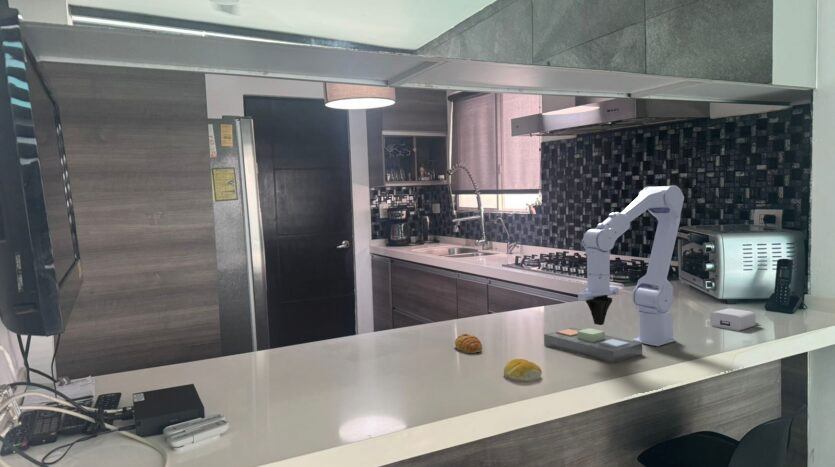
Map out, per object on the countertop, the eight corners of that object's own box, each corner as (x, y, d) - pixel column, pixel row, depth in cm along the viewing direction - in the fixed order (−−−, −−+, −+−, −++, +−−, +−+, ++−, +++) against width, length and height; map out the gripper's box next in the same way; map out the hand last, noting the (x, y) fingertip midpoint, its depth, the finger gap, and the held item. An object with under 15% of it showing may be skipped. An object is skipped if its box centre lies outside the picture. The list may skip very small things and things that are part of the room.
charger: (765, 324, 173) (740, 332, 165) (735, 319, 181) (710, 326, 173) (765, 309, 173) (740, 316, 165) (735, 305, 181) (710, 311, 173)
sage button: (589, 338, 155) (589, 328, 154) (604, 342, 150) (604, 331, 150) (577, 341, 152) (577, 331, 152) (592, 345, 148) (592, 334, 147)
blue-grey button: (612, 350, 148) (612, 339, 148) (628, 354, 144) (628, 342, 144) (600, 353, 146) (600, 342, 145) (616, 357, 142) (616, 346, 141)
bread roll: (526, 369, 137) (525, 353, 137) (547, 379, 129) (546, 362, 128) (496, 373, 134) (496, 357, 134) (516, 385, 126) (516, 367, 125)
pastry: (488, 353, 152) (488, 339, 151) (466, 356, 149) (465, 342, 149) (473, 344, 161) (473, 331, 160) (452, 347, 158) (451, 334, 158)
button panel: (572, 337, 164) (572, 327, 164) (642, 354, 145) (642, 343, 145) (544, 344, 157) (544, 334, 157) (613, 363, 138) (613, 351, 138)
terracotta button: (568, 339, 161) (568, 328, 161) (582, 342, 157) (582, 332, 157) (556, 342, 158) (556, 331, 158) (570, 345, 154) (570, 335, 154)
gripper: (602, 269, 155) (603, 317, 156) (568, 275, 147) (569, 325, 148) (625, 272, 149) (625, 321, 150) (590, 278, 141) (591, 330, 142)
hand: (598, 324), depth 149 cm, fingers closed
